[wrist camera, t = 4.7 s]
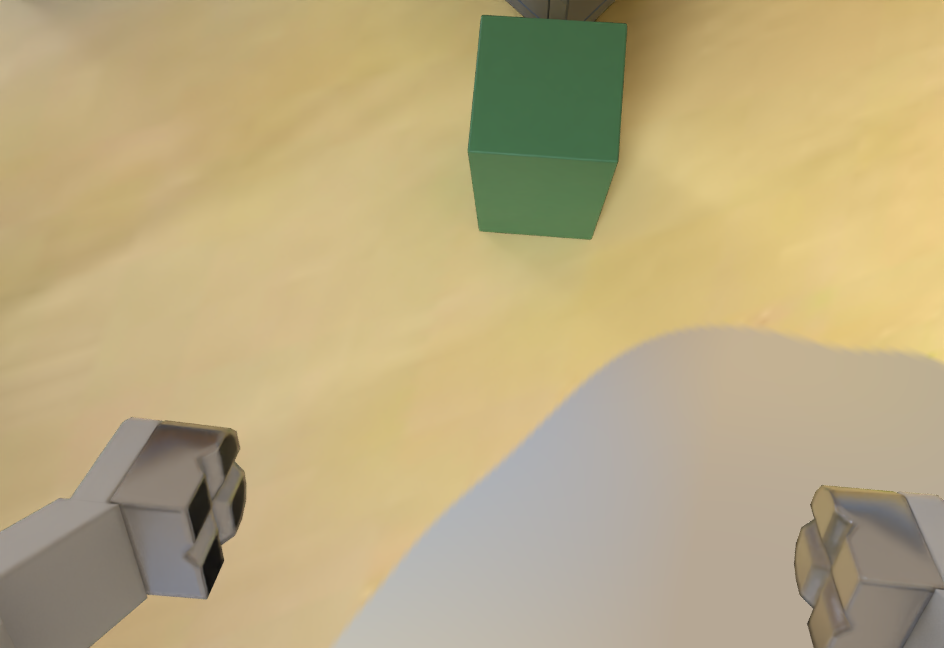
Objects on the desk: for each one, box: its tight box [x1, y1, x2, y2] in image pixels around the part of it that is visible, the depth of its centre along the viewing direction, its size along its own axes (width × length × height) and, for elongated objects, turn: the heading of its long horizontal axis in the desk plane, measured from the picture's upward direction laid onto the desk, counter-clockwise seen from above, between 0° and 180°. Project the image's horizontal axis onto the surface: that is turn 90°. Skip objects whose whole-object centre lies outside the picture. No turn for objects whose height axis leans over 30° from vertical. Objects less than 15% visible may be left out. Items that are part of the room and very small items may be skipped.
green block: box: [468, 15, 627, 240], centre depth 31 cm, size 5×5×9 cm
